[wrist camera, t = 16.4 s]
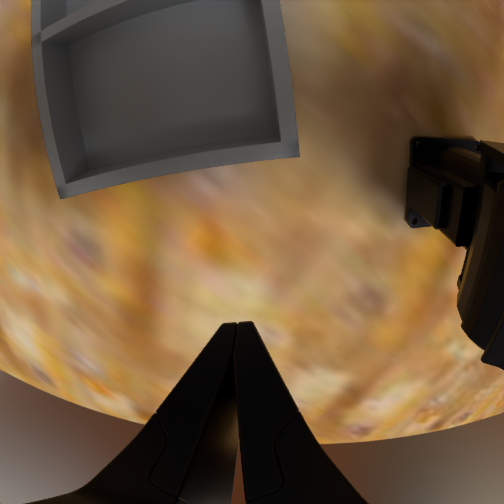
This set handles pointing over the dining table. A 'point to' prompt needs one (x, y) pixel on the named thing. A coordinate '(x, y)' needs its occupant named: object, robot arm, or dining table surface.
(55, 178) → the grey compartment tray
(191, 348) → the dining table surface
